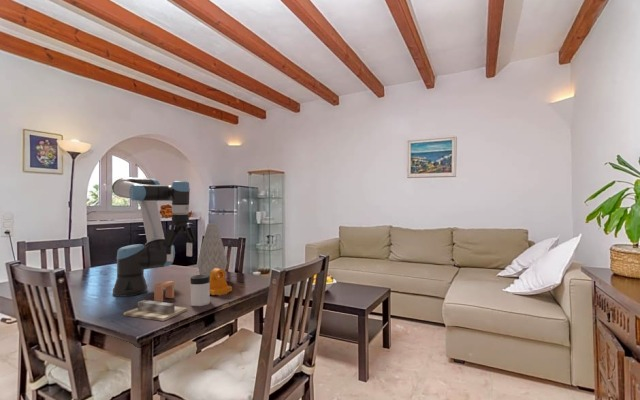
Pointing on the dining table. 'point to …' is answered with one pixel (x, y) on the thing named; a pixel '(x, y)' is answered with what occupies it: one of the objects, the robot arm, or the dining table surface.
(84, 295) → the dining table surface
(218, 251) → the vase
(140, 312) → the rail board
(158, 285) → the clip
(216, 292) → the bracket
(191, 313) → the dining table surface
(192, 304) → the jar
